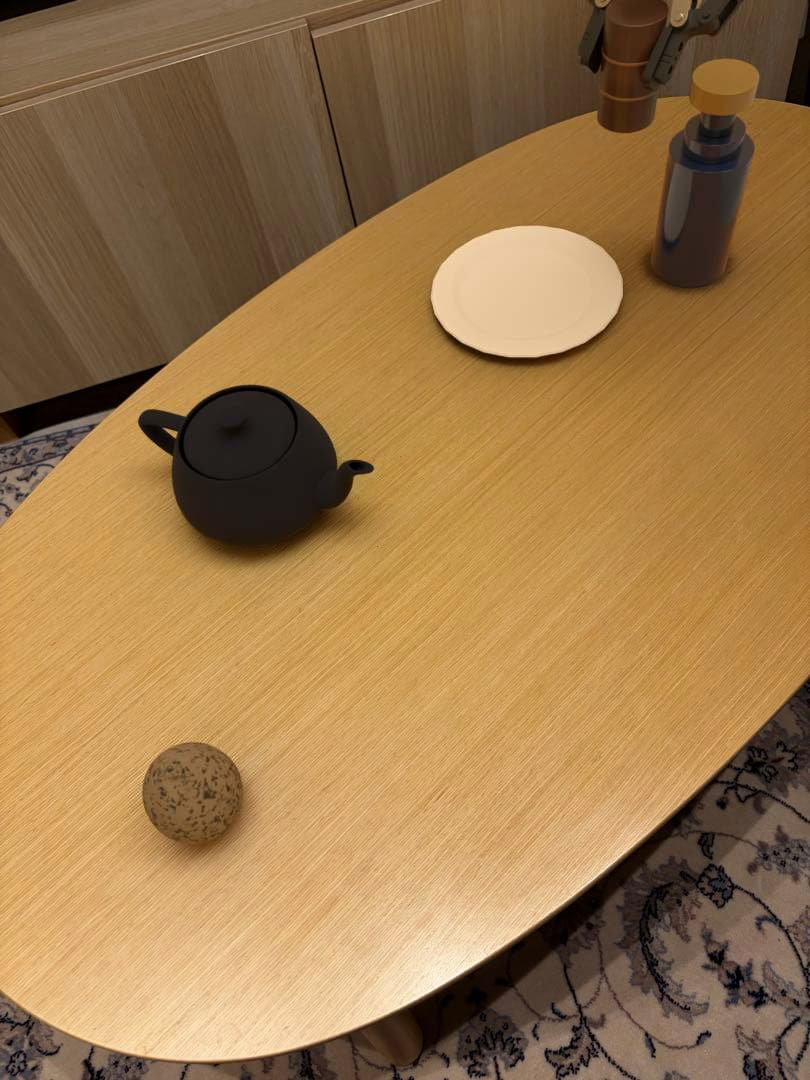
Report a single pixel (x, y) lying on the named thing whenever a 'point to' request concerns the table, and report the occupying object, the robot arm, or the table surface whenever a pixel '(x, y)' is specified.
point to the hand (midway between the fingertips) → (618, 77)
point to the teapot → (251, 465)
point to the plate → (527, 292)
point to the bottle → (705, 177)
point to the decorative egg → (192, 792)
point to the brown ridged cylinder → (628, 63)
